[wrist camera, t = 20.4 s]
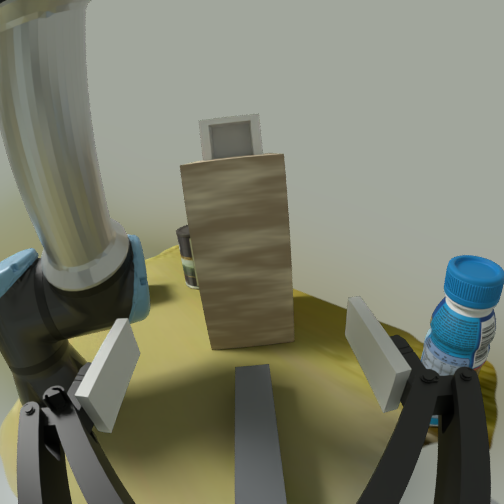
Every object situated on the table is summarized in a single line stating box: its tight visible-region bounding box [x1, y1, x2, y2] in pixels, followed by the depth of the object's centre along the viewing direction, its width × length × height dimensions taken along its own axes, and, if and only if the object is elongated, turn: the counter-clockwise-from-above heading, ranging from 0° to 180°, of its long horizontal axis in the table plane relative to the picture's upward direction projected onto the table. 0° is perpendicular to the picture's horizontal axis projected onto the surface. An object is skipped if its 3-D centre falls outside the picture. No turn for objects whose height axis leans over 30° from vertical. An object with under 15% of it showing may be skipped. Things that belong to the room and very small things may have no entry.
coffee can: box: [176, 225, 199, 289], centre depth 73 cm, size 10×10×14 cm
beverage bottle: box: [421, 255, 504, 426], centre depth 26 cm, size 8×8×20 cm
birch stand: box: [180, 153, 294, 350], centre depth 50 cm, size 16×14×30 cm
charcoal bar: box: [235, 364, 287, 504], centre depth 26 cm, size 26×4×4 cm, turn 2°
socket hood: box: [199, 114, 263, 161], centre depth 49 cm, size 7×10×7 cm
